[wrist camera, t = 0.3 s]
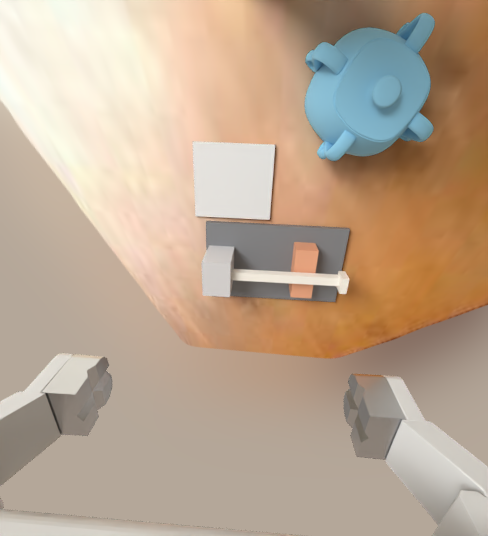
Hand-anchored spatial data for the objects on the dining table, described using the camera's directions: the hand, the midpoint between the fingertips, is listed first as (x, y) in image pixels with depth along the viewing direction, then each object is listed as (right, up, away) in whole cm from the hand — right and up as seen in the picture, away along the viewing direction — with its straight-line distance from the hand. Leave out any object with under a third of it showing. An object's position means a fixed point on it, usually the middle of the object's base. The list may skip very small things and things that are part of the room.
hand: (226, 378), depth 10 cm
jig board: (+7, +5, +50) cm, 50 cm away
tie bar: (+7, +2, +45) cm, 45 cm away
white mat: (-1, +19, +43) cm, 47 cm away
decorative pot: (+18, +30, +37) cm, 51 cm away
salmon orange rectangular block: (+12, +4, +49) cm, 50 cm away
